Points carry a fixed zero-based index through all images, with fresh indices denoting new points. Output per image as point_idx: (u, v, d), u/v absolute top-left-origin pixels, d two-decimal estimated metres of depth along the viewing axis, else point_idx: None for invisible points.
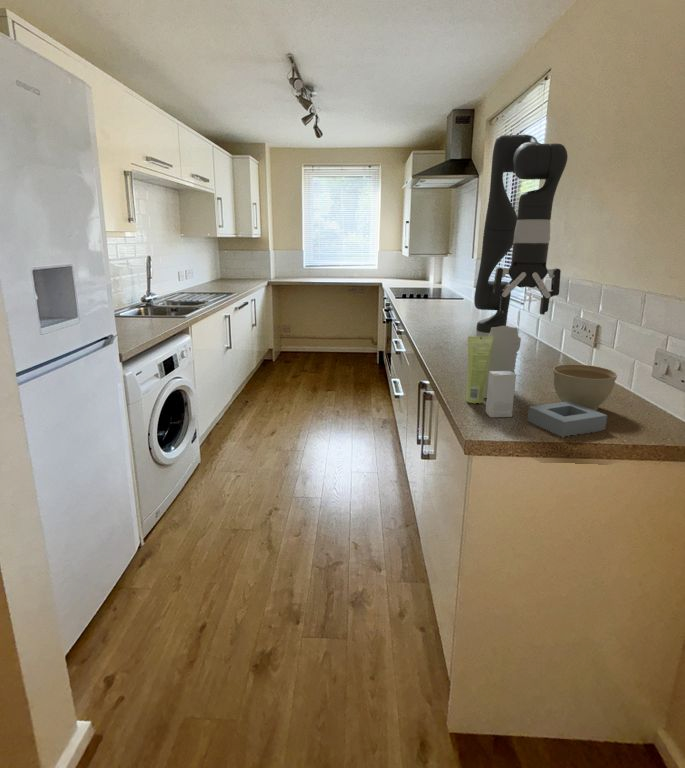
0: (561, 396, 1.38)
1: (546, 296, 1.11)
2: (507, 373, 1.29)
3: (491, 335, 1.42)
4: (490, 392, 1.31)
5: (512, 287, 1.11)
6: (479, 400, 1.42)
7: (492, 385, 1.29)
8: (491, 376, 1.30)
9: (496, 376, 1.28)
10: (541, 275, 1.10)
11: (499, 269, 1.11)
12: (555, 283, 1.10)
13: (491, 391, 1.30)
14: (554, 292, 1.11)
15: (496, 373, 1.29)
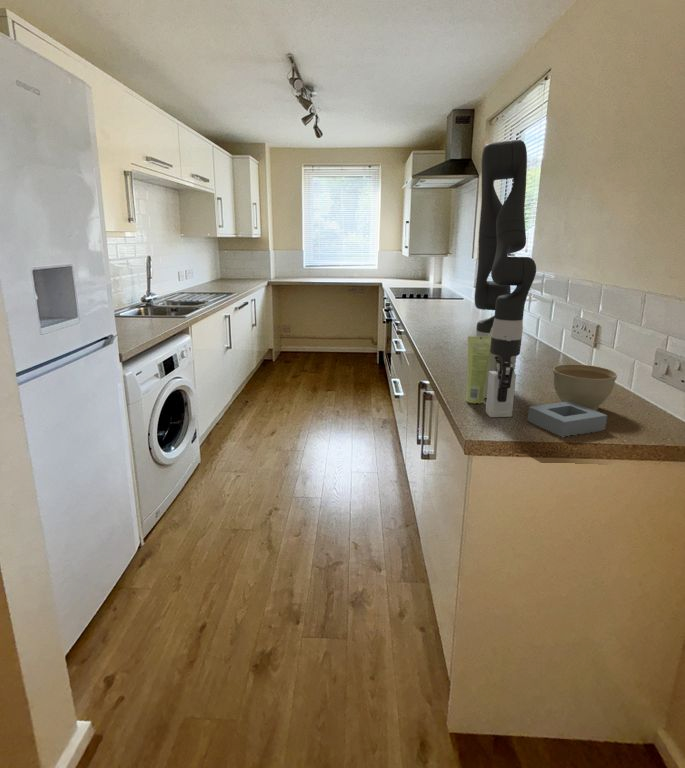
0: (561, 396, 1.38)
1: None
2: None
3: (491, 335, 1.42)
4: (490, 392, 1.31)
5: None
6: (479, 400, 1.42)
7: (492, 385, 1.29)
8: (491, 376, 1.30)
9: (496, 376, 1.28)
10: None
11: (512, 369, 1.23)
12: None
13: (491, 391, 1.30)
14: None
15: (496, 373, 1.29)
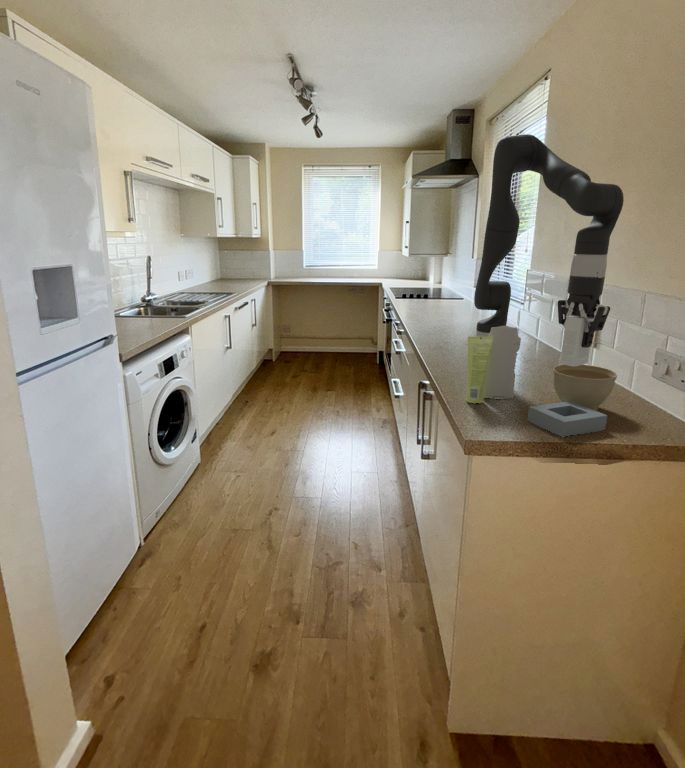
0: (561, 396, 1.38)
1: None
2: None
3: (491, 335, 1.42)
4: (571, 339, 1.18)
5: None
6: (479, 400, 1.42)
7: (576, 330, 1.16)
8: (573, 321, 1.17)
9: (583, 319, 1.15)
10: None
11: None
12: None
13: (574, 337, 1.17)
14: None
15: (579, 316, 1.16)
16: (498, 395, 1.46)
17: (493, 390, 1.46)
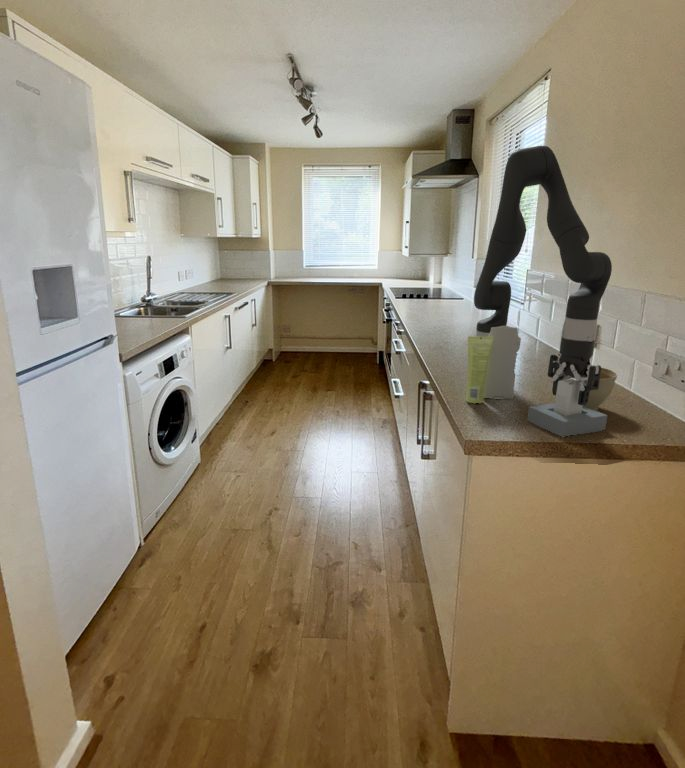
0: None
1: None
2: None
3: (491, 335, 1.42)
4: (562, 403, 1.23)
5: None
6: (479, 400, 1.42)
7: (567, 396, 1.21)
8: (564, 386, 1.21)
9: (573, 386, 1.20)
10: None
11: None
12: None
13: (565, 402, 1.22)
14: None
15: (569, 382, 1.21)
16: (498, 395, 1.46)
17: (493, 390, 1.46)
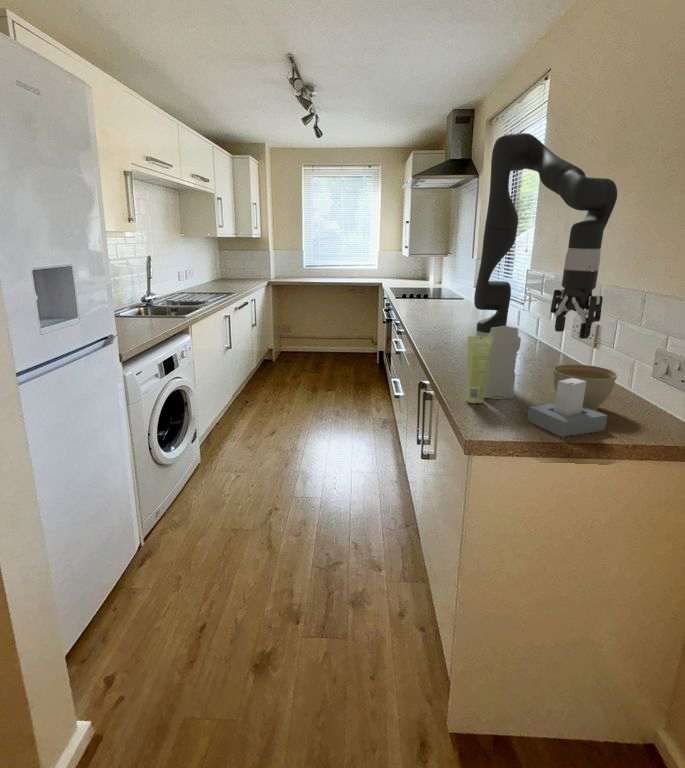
0: None
1: None
2: (578, 381, 1.22)
3: (491, 335, 1.42)
4: (562, 403, 1.23)
5: None
6: (479, 400, 1.42)
7: (567, 396, 1.21)
8: (564, 386, 1.21)
9: (573, 386, 1.20)
10: None
11: None
12: None
13: (565, 402, 1.22)
14: None
15: (570, 382, 1.21)
16: (498, 395, 1.46)
17: (493, 390, 1.46)
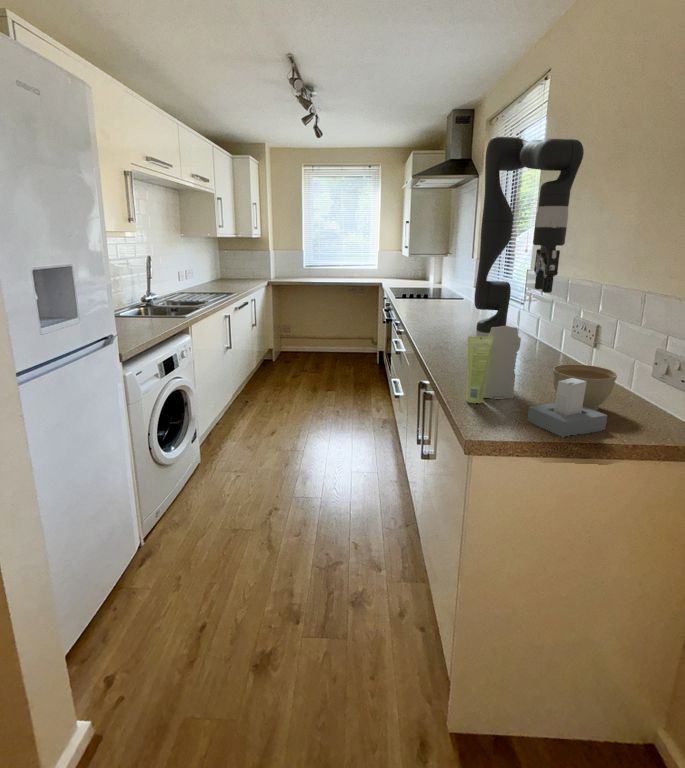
0: None
1: None
2: (578, 381, 1.22)
3: (491, 335, 1.42)
4: (562, 403, 1.23)
5: None
6: (479, 400, 1.42)
7: (567, 396, 1.21)
8: (564, 386, 1.21)
9: (573, 386, 1.20)
10: None
11: (559, 251, 1.19)
12: None
13: (565, 402, 1.22)
14: None
15: (570, 382, 1.21)
16: (498, 395, 1.46)
17: (493, 390, 1.46)
